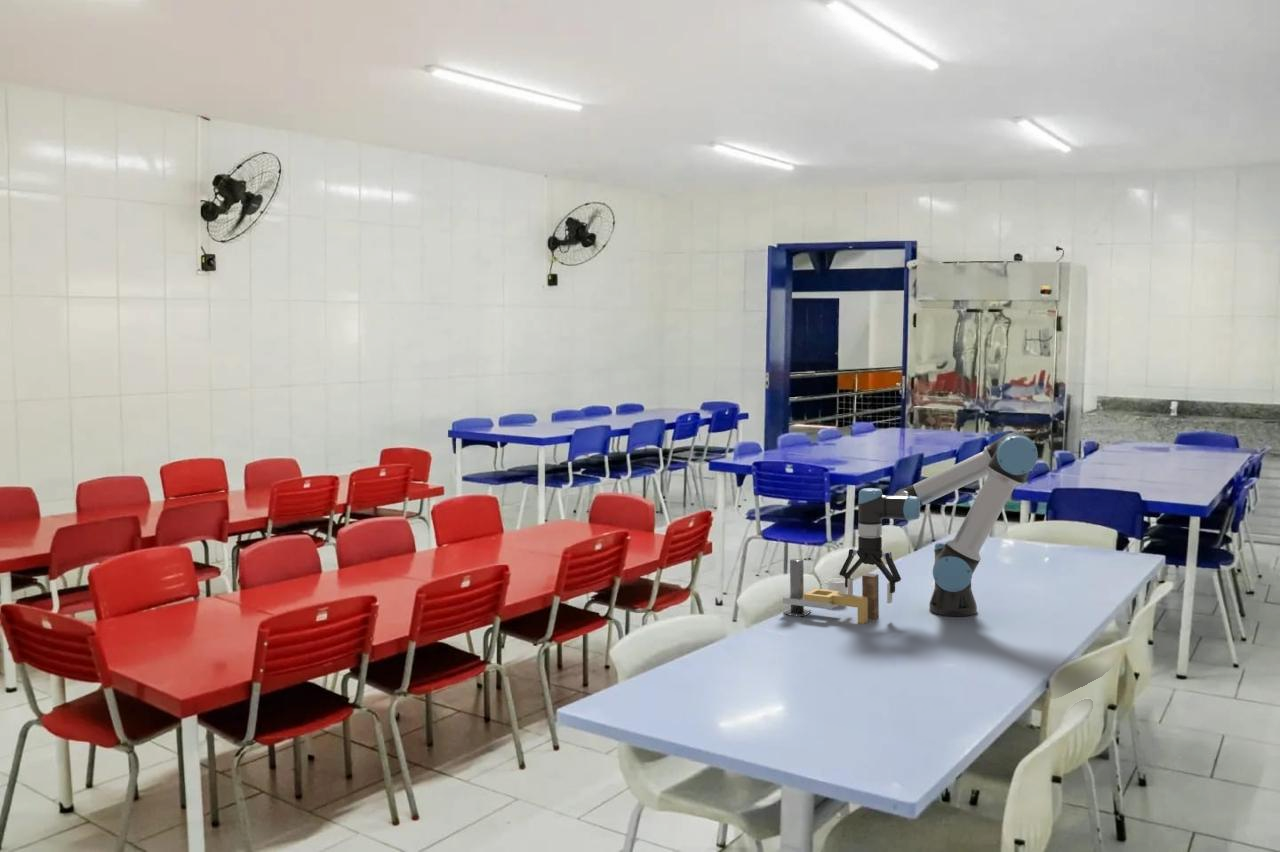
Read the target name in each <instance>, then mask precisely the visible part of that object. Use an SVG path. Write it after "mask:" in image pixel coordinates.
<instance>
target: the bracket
mask: <svg viewBox="0 0 1280 852" xmlns="http://www.w3.org/2000/svg"><path fill="white" fill-rule="evenodd" d="M804 593H805V594H804V600H806V601H815V602H823V603H831V602H834V605H838V606H841V607H842V606H843V607H850V608H857V623H858V624H863V625H864V624H866V623H868V620H869V619H868V599H867V597H865V596H862V595H855V594H853V595H848V594H847V593H846V594H840V591H832V590H829V589H820V588H813V589H811V590H808V591H807V592H804Z"/></svg>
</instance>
